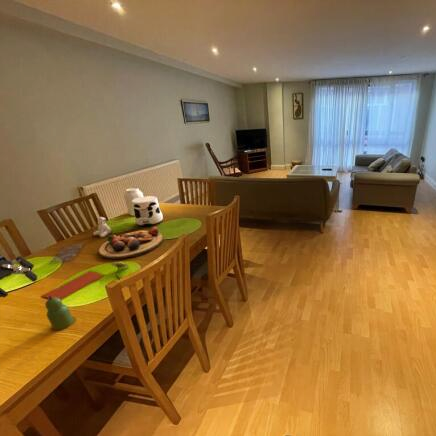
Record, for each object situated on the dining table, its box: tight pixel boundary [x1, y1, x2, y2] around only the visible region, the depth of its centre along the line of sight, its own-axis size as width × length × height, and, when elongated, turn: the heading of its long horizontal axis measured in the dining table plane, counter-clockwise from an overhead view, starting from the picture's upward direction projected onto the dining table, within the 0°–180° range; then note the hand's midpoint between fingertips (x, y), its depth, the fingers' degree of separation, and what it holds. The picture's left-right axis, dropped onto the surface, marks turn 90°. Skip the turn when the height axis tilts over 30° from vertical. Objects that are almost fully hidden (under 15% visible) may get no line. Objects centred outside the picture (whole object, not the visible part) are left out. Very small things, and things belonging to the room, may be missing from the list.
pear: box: [44, 296, 74, 331], centre depth 85 cm, size 6×6×13 cm
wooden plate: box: [98, 226, 163, 260], centre depth 141 cm, size 32×32×8 cm
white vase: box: [123, 187, 144, 217], centre depth 187 cm, size 12×12×20 cm
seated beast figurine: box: [92, 216, 112, 239], centre depth 154 cm, size 10×9×12 cm
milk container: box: [132, 195, 164, 227], centre depth 170 cm, size 17×17×18 cm
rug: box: [49, 243, 84, 265], centre depth 134 cm, size 10×20×1 cm, turn 26°
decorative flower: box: [110, 261, 130, 280], centre depth 115 cm, size 8×6×15 cm
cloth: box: [42, 270, 105, 300], centre depth 108 cm, size 19×10×1 cm, turn 160°
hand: (21, 287), depth 83 cm, fingers open, 8 cm apart
